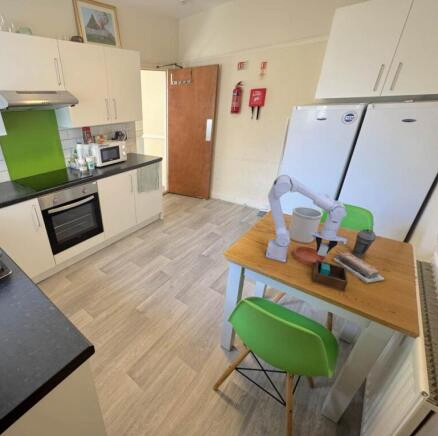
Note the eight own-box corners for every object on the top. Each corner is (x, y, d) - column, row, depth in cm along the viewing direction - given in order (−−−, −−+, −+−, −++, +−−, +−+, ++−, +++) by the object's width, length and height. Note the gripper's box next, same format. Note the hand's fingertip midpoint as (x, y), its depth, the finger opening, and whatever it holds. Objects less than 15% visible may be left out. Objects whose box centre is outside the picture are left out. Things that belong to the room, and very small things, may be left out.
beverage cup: (363, 253, 128) (379, 220, 119) (368, 260, 122) (385, 227, 113) (347, 250, 131) (361, 218, 122) (350, 257, 125) (365, 224, 116)
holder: (312, 282, 110) (316, 273, 107) (313, 268, 118) (316, 259, 116) (343, 291, 104) (347, 282, 102) (341, 276, 113) (345, 267, 110)
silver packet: (317, 254, 116) (320, 246, 114) (317, 249, 120) (320, 241, 117) (325, 256, 115) (328, 247, 112) (324, 251, 118) (328, 243, 116)
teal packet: (318, 276, 113) (321, 268, 110) (318, 270, 116) (321, 262, 114) (326, 278, 111) (330, 270, 109) (326, 273, 114) (329, 264, 112)
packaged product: (334, 252, 121) (350, 250, 123) (331, 260, 124) (347, 257, 125) (370, 275, 106) (388, 272, 107) (366, 284, 108) (383, 280, 110)
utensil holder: (287, 240, 141) (294, 214, 133) (285, 229, 153) (291, 204, 145) (316, 245, 136) (326, 218, 128) (311, 233, 148) (320, 207, 140)
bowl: (291, 261, 124) (293, 256, 122) (293, 248, 134) (295, 243, 133) (324, 270, 117) (326, 265, 116) (324, 255, 127) (325, 251, 126)
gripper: (349, 227, 110) (339, 251, 116) (312, 220, 117) (304, 243, 123) (351, 234, 105) (340, 259, 111) (312, 226, 112) (304, 250, 118)
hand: (321, 251), depth 117 cm, fingers closed on silver packet, 3 cm apart
